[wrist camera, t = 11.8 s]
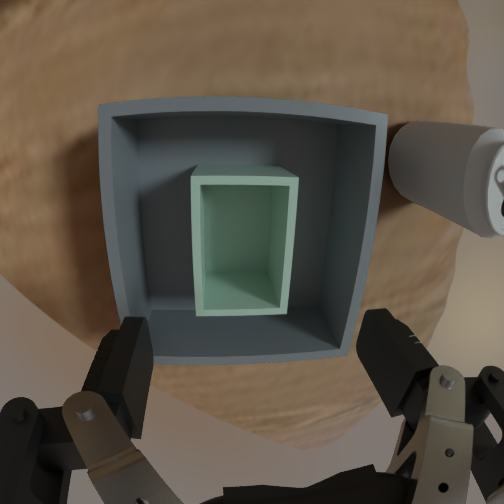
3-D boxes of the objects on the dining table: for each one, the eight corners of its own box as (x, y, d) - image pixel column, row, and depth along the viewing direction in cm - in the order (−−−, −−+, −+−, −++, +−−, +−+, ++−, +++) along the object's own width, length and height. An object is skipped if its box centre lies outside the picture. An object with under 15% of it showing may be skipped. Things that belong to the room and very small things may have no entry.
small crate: (197, 164, 22) (190, 175, 16) (278, 165, 22) (298, 177, 17) (200, 275, 25) (196, 316, 20) (272, 274, 26) (286, 313, 20)
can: (406, 215, 26) (495, 270, 15) (367, 150, 23) (467, 175, 12) (454, 170, 25) (546, 202, 14) (421, 105, 22) (524, 110, 11)
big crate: (131, 110, 20) (98, 104, 14) (344, 116, 22) (387, 114, 16) (146, 312, 27) (130, 362, 20) (322, 308, 29) (347, 355, 22)
